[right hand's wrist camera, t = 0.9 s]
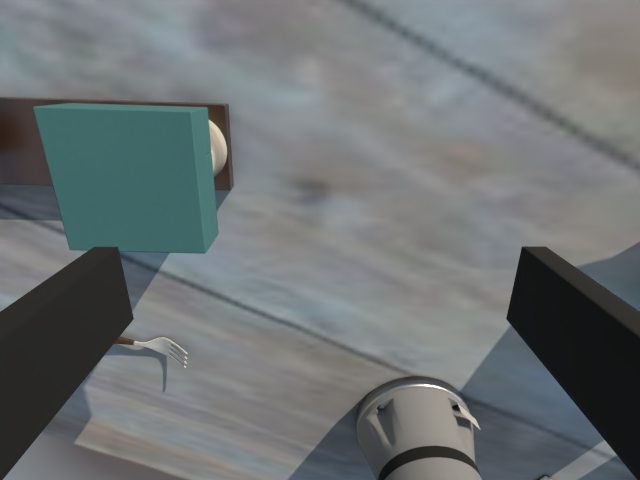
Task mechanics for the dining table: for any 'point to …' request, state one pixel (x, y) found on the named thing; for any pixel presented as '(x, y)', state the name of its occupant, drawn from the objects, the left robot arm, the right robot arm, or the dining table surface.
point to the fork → (157, 347)
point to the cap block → (131, 175)
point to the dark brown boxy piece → (20, 122)
